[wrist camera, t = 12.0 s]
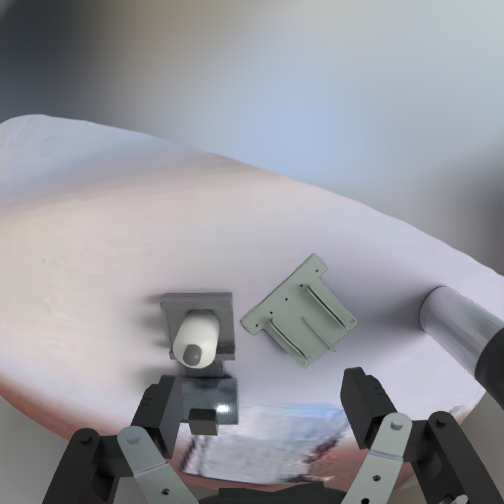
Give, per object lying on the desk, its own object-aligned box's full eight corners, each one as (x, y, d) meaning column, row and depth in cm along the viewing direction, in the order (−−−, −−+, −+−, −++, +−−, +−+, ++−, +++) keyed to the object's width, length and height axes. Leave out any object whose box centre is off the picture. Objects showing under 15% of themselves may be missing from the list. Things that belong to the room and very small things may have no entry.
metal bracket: (375, 320, 37) (297, 385, 39) (366, 311, 42) (298, 369, 45) (308, 247, 38) (232, 318, 40) (308, 246, 44) (240, 309, 46)
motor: (231, 292, 41) (227, 325, 31) (239, 402, 46) (238, 443, 36) (159, 293, 41) (136, 324, 31) (180, 400, 46) (169, 440, 36)
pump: (218, 309, 40) (211, 340, 32) (221, 341, 42) (215, 376, 33) (180, 309, 40) (166, 339, 32) (185, 341, 42) (173, 375, 33)
